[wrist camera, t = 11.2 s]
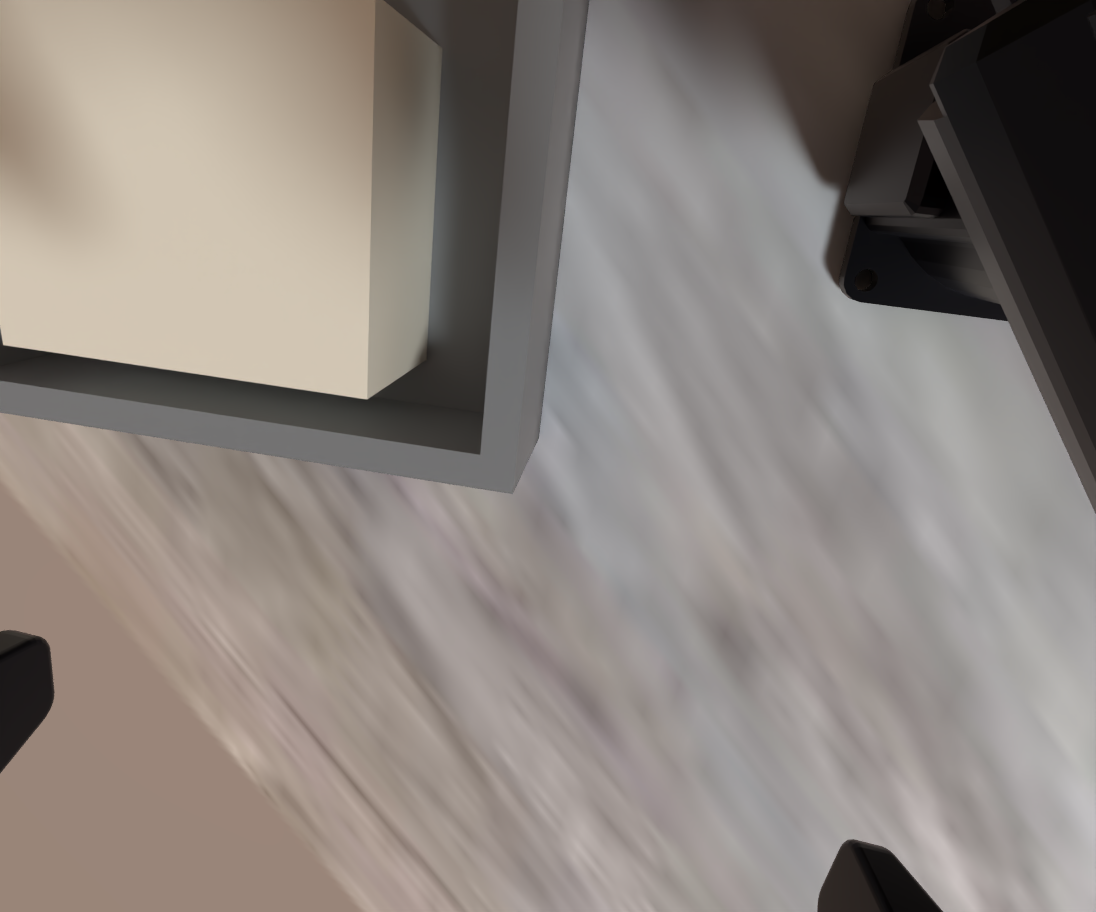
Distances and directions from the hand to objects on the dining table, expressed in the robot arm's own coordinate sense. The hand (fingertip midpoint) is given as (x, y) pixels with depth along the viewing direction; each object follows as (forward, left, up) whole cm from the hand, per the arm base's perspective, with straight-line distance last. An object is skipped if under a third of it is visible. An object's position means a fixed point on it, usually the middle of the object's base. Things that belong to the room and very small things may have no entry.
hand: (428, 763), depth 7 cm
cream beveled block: (+8, -5, -11) cm, 14 cm away
